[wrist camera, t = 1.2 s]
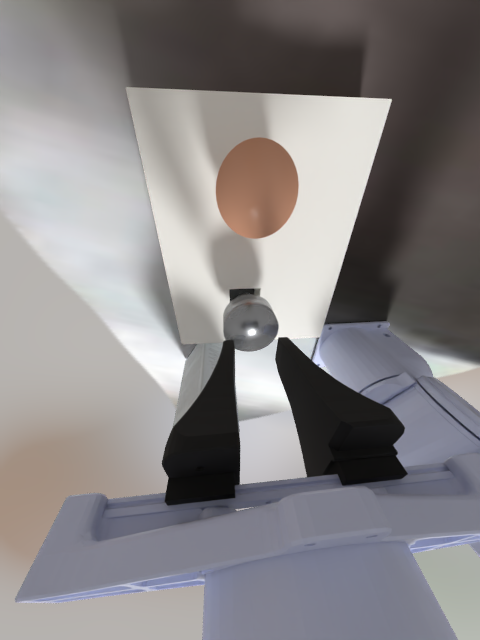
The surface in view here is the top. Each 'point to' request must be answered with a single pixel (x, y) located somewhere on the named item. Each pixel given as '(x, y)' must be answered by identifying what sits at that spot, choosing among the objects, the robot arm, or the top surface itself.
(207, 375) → the skincare box
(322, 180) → the panel
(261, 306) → the plug
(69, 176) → the top surface
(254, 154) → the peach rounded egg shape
